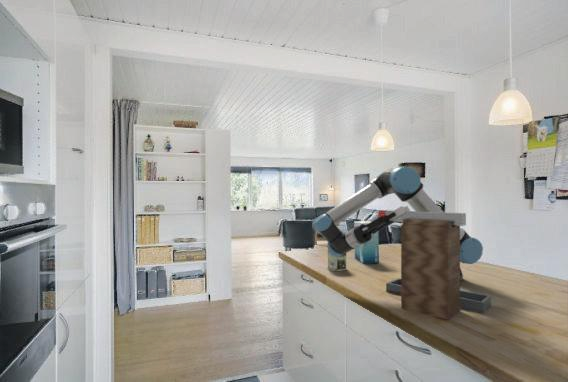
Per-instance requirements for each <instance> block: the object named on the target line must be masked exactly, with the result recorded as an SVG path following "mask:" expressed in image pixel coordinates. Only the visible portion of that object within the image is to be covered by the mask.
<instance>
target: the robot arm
mask: <svg viewBox="0 0 568 382" xmlns="http://www.w3.org/2000/svg"><path fill="white" fill-rule="evenodd" d="M391 194H392V195H393V194H395V196H396V197H397V198H398V199H399V200H400V201H401V202H402V203H407V204H408V205H409V206H410V207H411V208H412V209H413V210H414V211H418V212H444V211H443V210H442V209H441V208H440V207H439V206H438V204H436V202H435V201H434V200H433V199H432V198H431V197H430V196H429V195H428V193H427V192H426V191H425V190H424V184H423V183H422V181H421V176H420V173H419V172H418V170H416V169H414V168H413V167H410V166H404V165H403V166H397V167H394V168H389V169H386V170H384V171H382V172H381V173H380V174H379V175H378V176H376V177H374V178H373V179H372V180H370V181H369V182H368V185H367V186H365V187H364V188H362V189H360V190H358V191H357V192H356V193H354V194H353V195H351V196H350V197H348V198H346V199H345V200H343V201H342V202H340V203H339V204H338V205H336V206H334V207H333V208H331V209H330V210H328V211H326V213H322V214H320V215H319V216H317V217H315V218H314V219H313V220H312V223H311V227H312V229H313V230H314V232H315V233H317V234H319V235H321V236H322V237H323V238H324V240H326V241H327V251H328V250H329V251H330V254H331V255H332V256H334V257H339V256H341V255H344V254H346V255H347V253H349V252H350V251H352V250H355V248H356V247H357V248H359V246H360V245H362V244H363V243H366V242H368V241H370V240H371V238H372V233H373V234H374V233H377V231H378V232H380V231H382V230H384V229H385V228H387V227H388V226H391V225H392V224H394V223H395V222H391V221H392V220H393V219H395V218H397V217H399V216H401V215H403V214H404V213H405V211H411V209H410V208H409V206H408V205H406V206H404V207H403V206H402V205H401V206H400V207H398V208H397V209H394V210H392V212H391V213H389V214H387V215H384V216H381V217H379V216H378V217H377V218H376V219H374V220H373V221H370V222H371V223H369V224H367V225H364V224H360V225H358V226H357V227H355V228H354V227H353V228H351V229H350V230H348V231H346V232H344V233H343V231H342V230H341V229H340V228H339V227H338V225H339V224H341V223H342V222H343V221H345V220H346V219H348V218H349V217H351V216H352V215H354V214H356V213H357V212H359V211H360V210H362V209H363V208H365V207H366V206H368V205H369V204H371V203H373V202H374V201H376V200H378V199H382V198H384V197H386V196H389V195H391ZM389 219H390V221H389ZM483 250H484V247H483V244H482V242H481V241H480V240H479V239H478V238H476V237H471V236H470V235H469V233H467V231H466V230H465V229H464V228H462V227H460V263H462V264H466V265H473V264H476V263H477V262H479V260H480V259H481V258H482V256H483ZM461 268H462V267H460V282H463V281H464V275H463V271H462V269H461Z"/></svg>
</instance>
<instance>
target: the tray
mask: <svg viewBox="0 0 568 382" xmlns="http://www.w3.org/2000/svg"><path fill="white" fill-rule="evenodd" d="M385 291H386V292H388V293H392V294H396V295H401V278H396V279H393V280H390V281H388V282H386V288H385ZM491 306H492V295H488V294H483V293H477V292H472V291H467V290H461V289H460V309H464V310H467V311H468V310H469V311H472V312H477V313H482V314H484V313H485V312H486V311H487V310H488V309H489V308H490V307H491Z"/></svg>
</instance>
